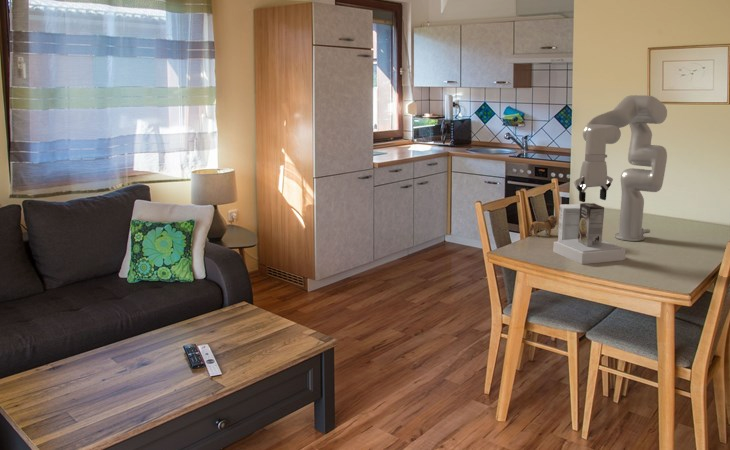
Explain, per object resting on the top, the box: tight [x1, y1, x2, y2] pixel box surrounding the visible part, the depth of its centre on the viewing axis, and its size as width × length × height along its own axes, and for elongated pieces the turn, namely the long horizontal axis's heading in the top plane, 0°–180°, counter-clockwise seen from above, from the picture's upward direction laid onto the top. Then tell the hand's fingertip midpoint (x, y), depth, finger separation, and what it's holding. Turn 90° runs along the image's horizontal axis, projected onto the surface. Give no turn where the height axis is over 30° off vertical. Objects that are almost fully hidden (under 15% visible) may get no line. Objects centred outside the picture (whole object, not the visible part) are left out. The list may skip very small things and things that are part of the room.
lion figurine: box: [526, 215, 558, 237], centre depth 306 cm, size 15×5×9 cm, turn 104°
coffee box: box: [578, 202, 605, 247], centre depth 269 cm, size 9×6×16 cm
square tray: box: [552, 239, 626, 265], centre depth 271 cm, size 20×20×5 cm
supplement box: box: [557, 203, 581, 241], centre depth 290 cm, size 10×9×17 cm
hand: (592, 200), depth 267 cm, fingers open, 9 cm apart
